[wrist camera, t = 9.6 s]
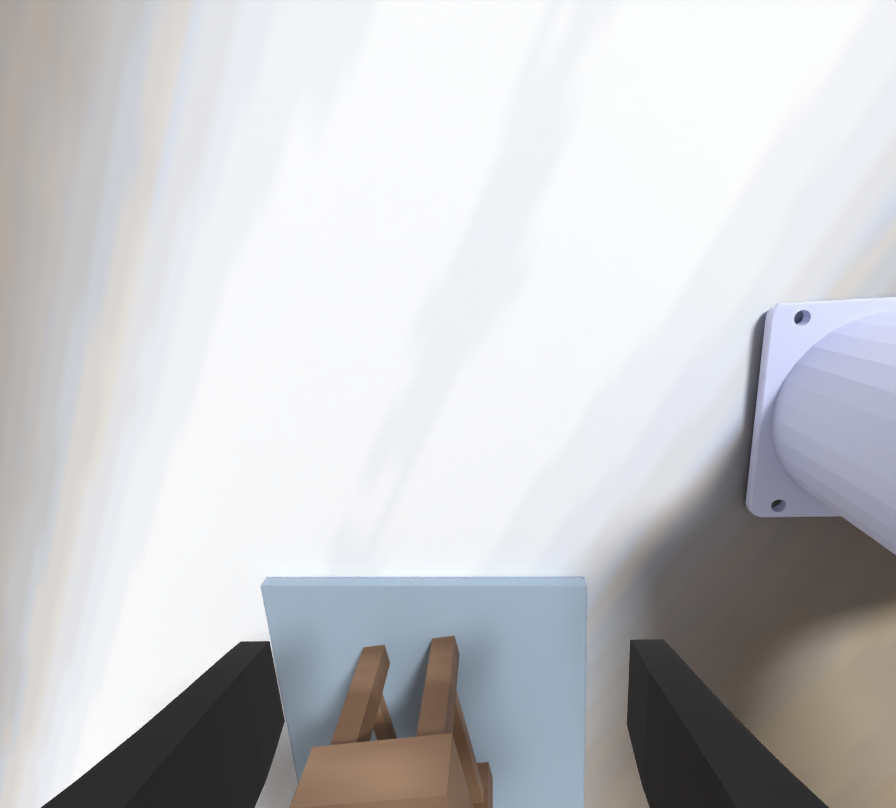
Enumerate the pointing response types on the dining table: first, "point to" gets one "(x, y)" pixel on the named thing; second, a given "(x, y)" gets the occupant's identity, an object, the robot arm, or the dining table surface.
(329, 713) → the mat
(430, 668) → the stool
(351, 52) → the dining table surface
